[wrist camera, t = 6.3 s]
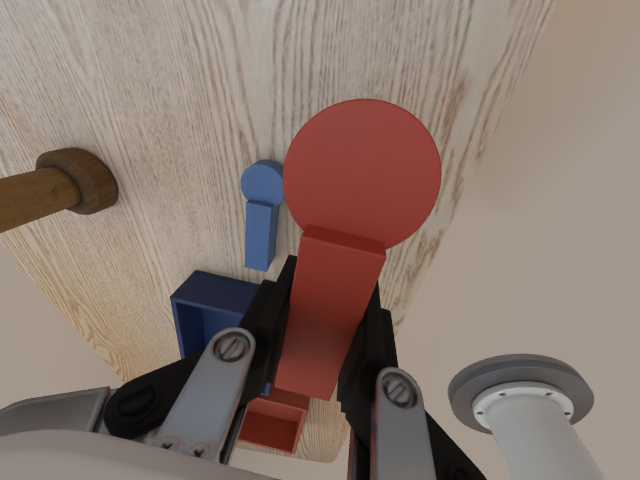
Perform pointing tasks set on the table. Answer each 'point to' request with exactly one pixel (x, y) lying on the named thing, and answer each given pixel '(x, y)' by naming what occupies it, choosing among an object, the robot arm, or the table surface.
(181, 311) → the blue bin
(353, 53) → the table surface
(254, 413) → the red bin
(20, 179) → the mortar and pestle
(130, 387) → the robot arm
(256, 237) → the blue spoon
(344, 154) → the red spoon
